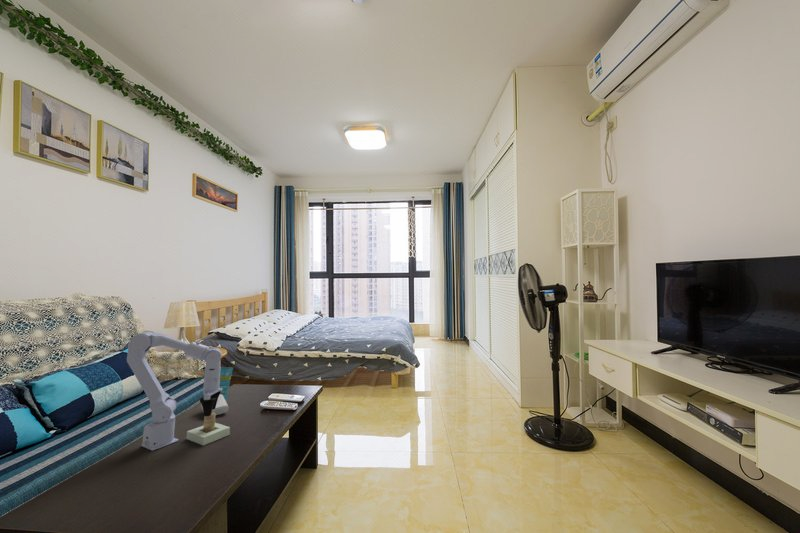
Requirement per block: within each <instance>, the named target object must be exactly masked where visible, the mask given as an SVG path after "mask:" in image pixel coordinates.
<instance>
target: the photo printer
mask: <svg viewBox="0 0 800 533" xmlns="http://www.w3.org/2000/svg"><path fill="white" fill-rule="evenodd" d="M200 407H201V409H202V411H203V407H202V404H201V403H200ZM229 409H230V408H229V405H228V403H227V400H226V401H225V399H224V397H223V395H222V394H220V395H219V397H218V400H217V404H216V407H215V409H212V412H214V413H216V414H215V416H218V415H219V416H220V415H221V414H225V413H227V412H228V411H229Z"/></svg>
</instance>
